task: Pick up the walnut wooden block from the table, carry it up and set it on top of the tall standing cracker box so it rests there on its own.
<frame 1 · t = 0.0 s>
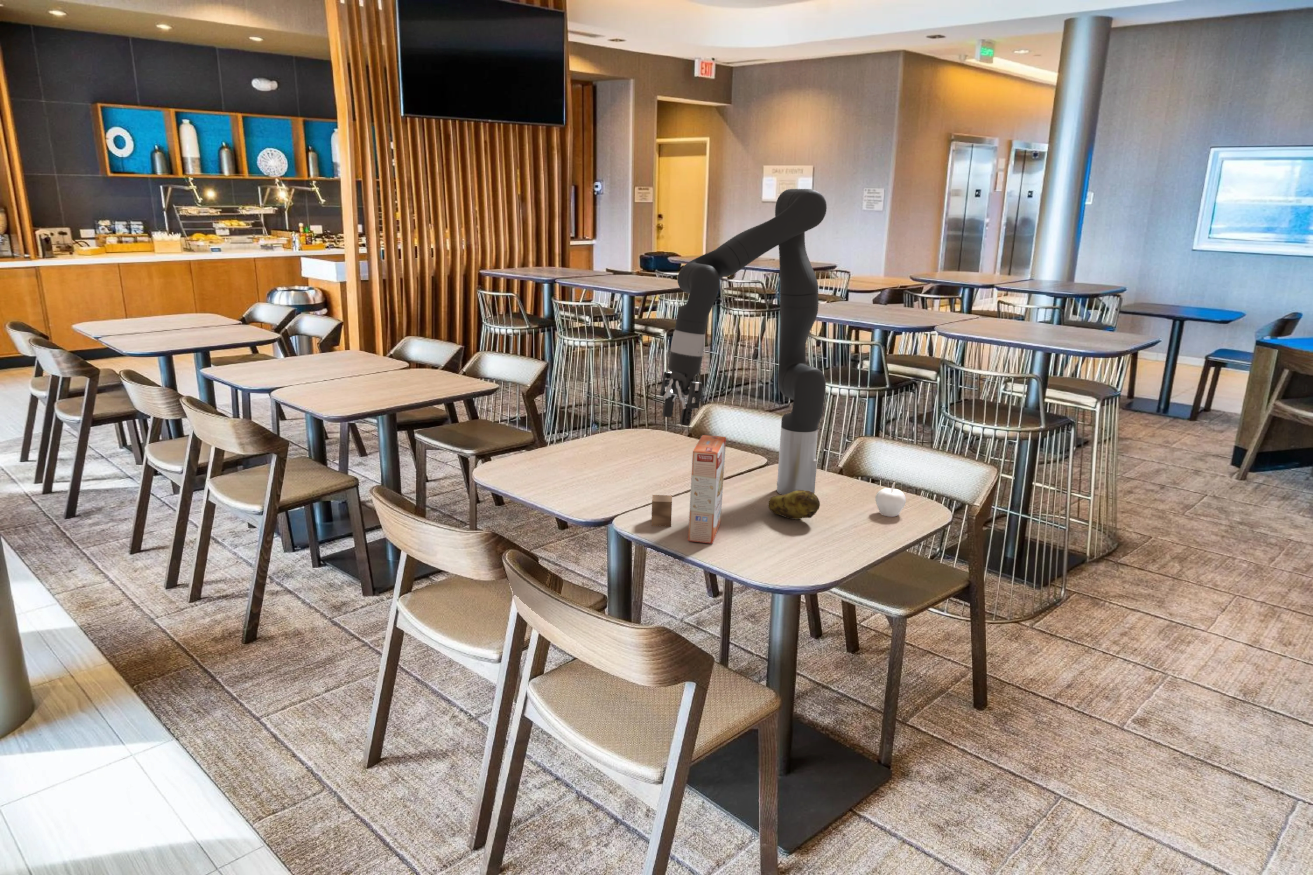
hand: (675, 420, 202), 22 cm above the table, tool pointing down, fingers open, 8 cm apart
plain white apple: (889, 515, 210), on the table
cracker box: (705, 533, 195), on the table
potato: (793, 520, 205), on the table
walnut block: (661, 522, 200), on the table
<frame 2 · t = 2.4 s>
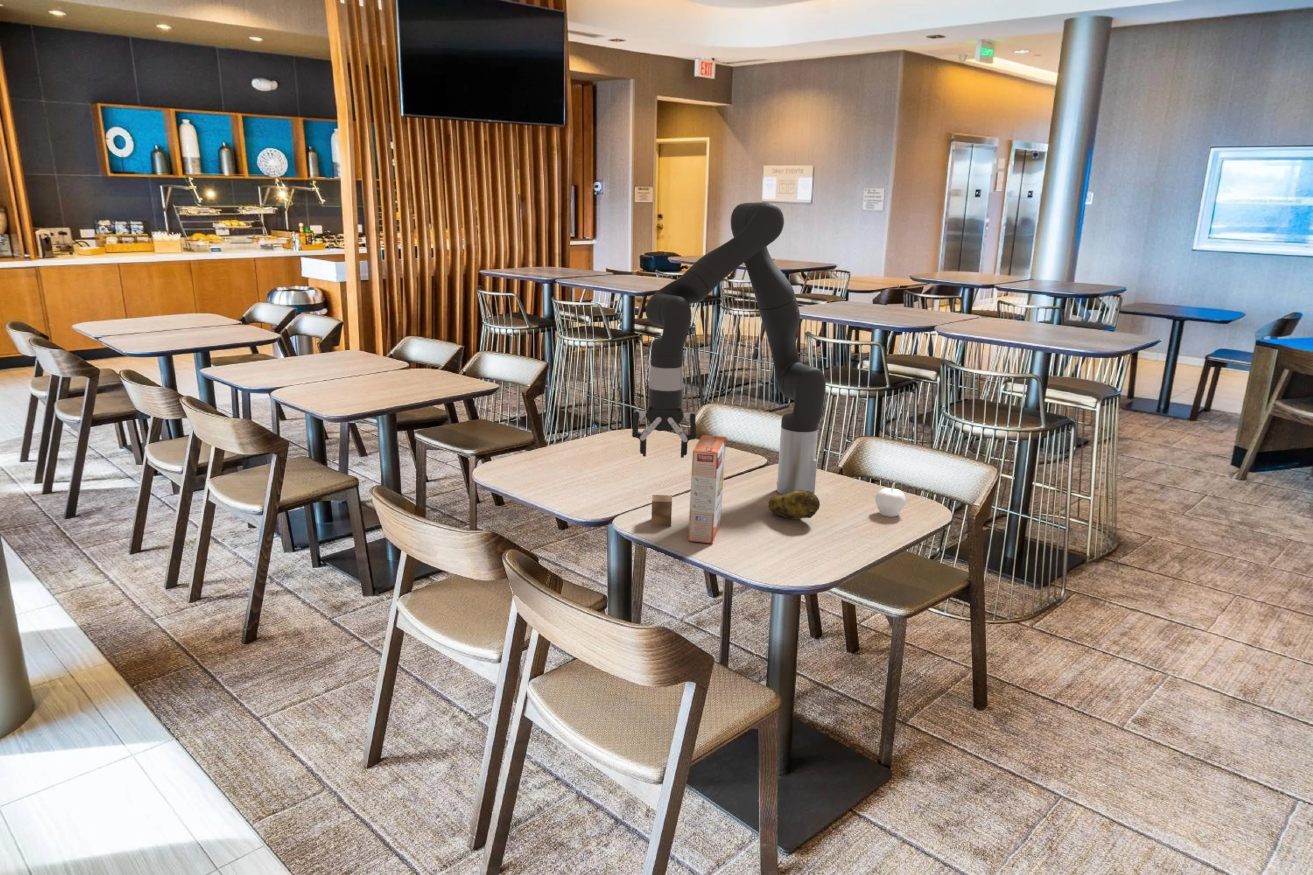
hand: (663, 456, 196), 16 cm above the table, tool pointing down, fingers open, 8 cm apart
nothing on the table moved.
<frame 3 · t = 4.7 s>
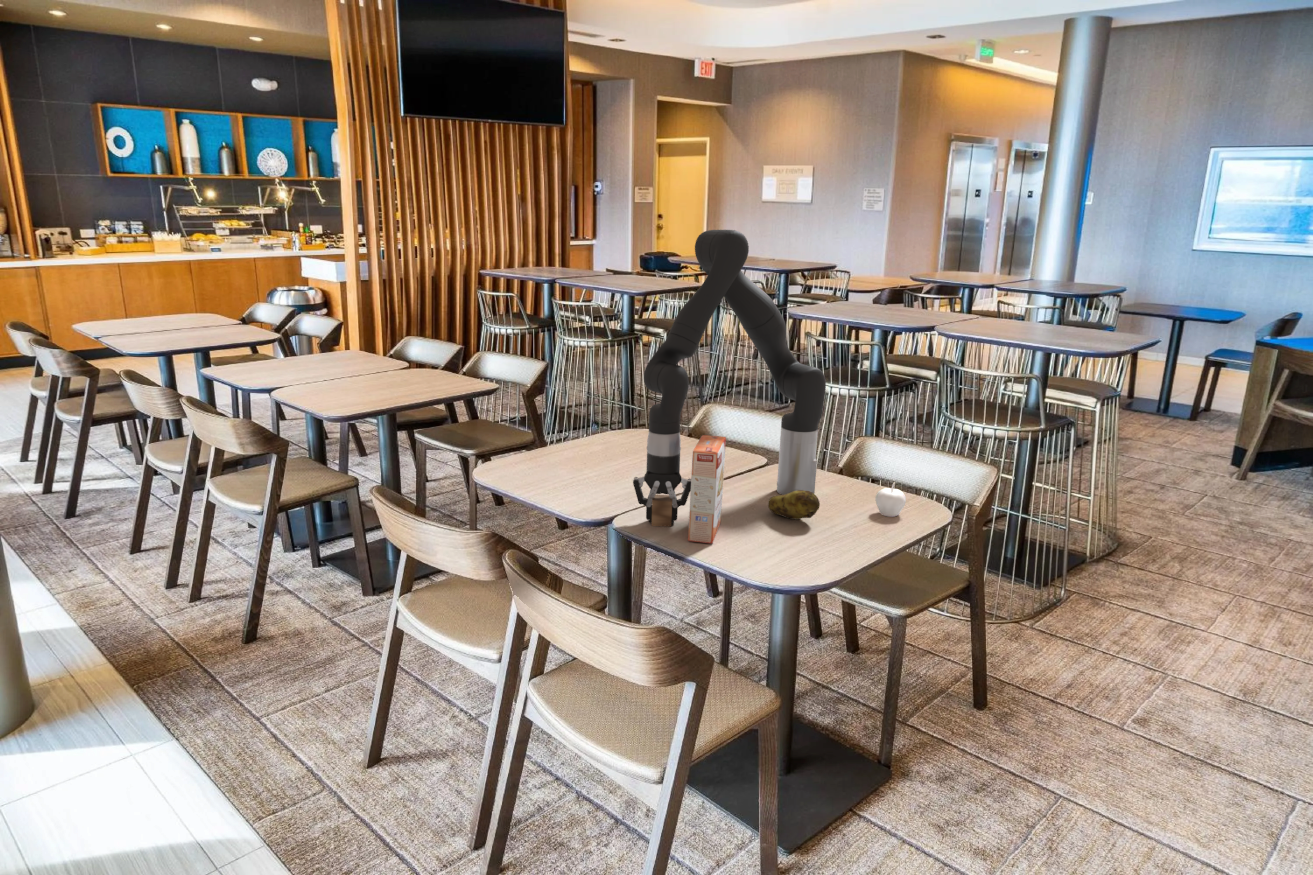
hand: (661, 521, 200), 0 cm above the table, tool pointing down, fingers closed on walnut block, 4 cm apart
walnut block: (661, 522, 200), on the table, touching gripper
everything else where it was.
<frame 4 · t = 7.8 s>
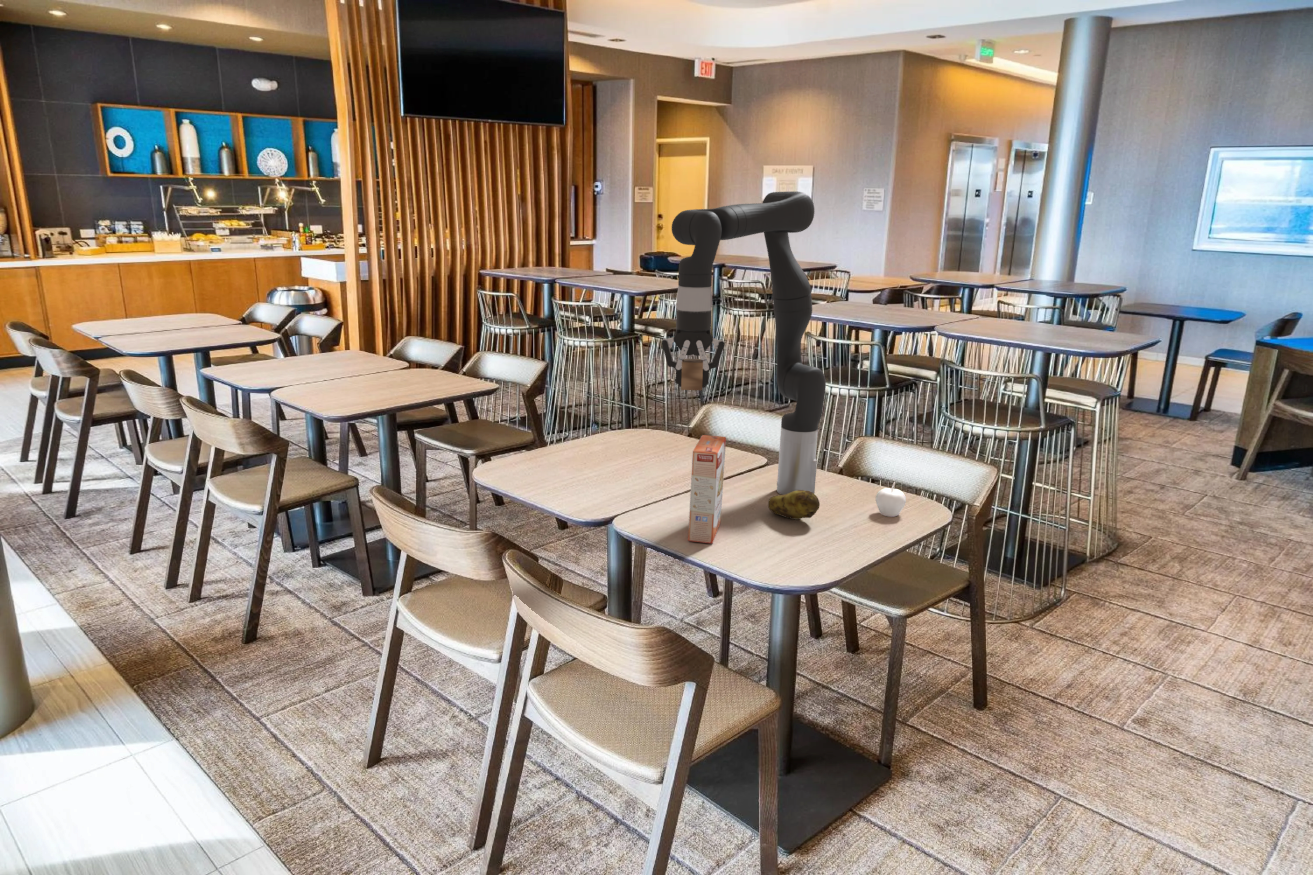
hand: (691, 386, 189), 33 cm above the table, tool pointing down, fingers closed on walnut block, 4 cm apart
walnut block: (691, 387, 189), point 32 cm above the table, touching gripper
everything else where it was.
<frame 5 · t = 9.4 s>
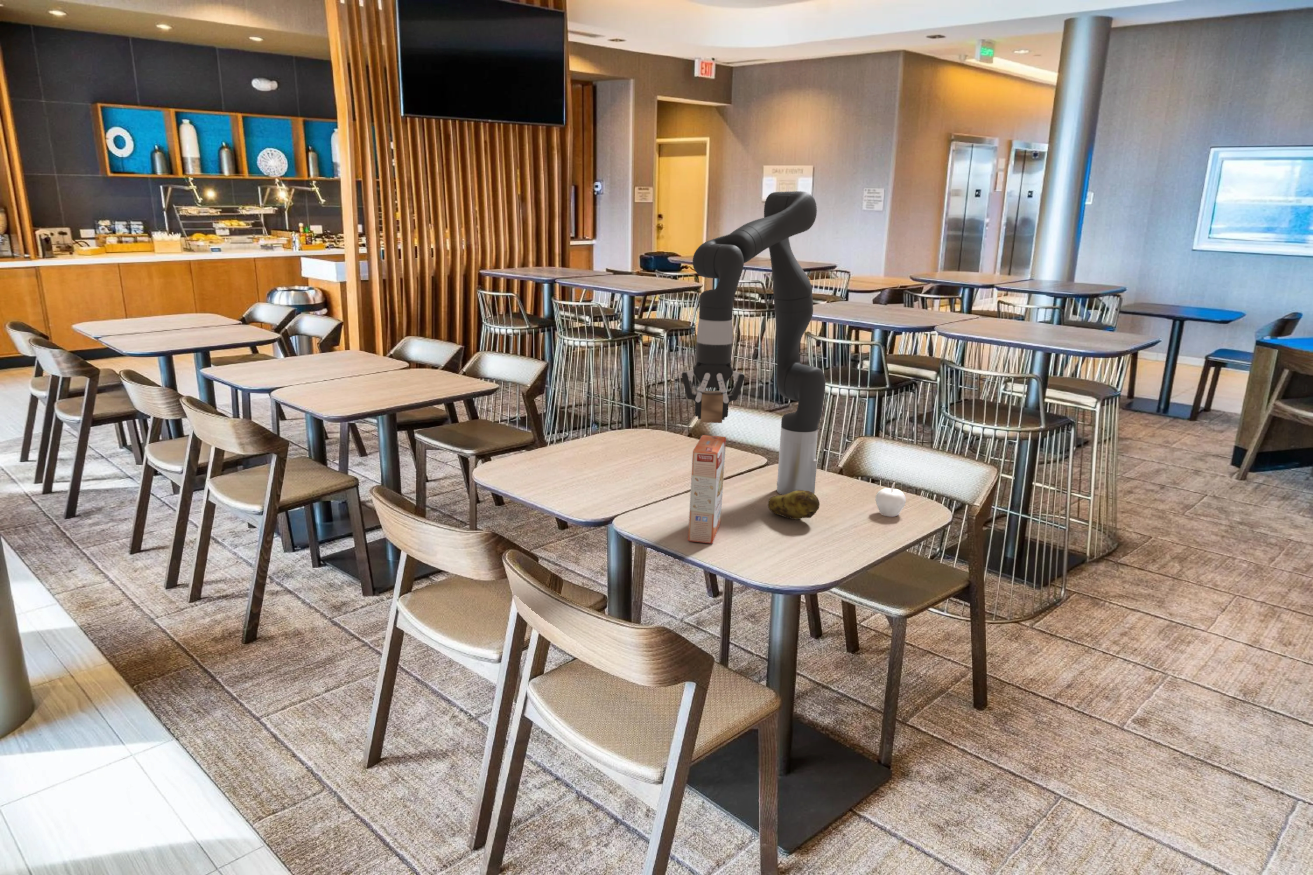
hand: (710, 418, 188), 26 cm above the table, tool pointing down, fingers closed on walnut block, 4 cm apart
walnut block: (710, 420, 188), point 26 cm above the table, touching gripper
everything else where it was.
when the fingers open (23 cm above the table, at t = 10.9 s): walnut block drops 1 cm, resting on cracker box.
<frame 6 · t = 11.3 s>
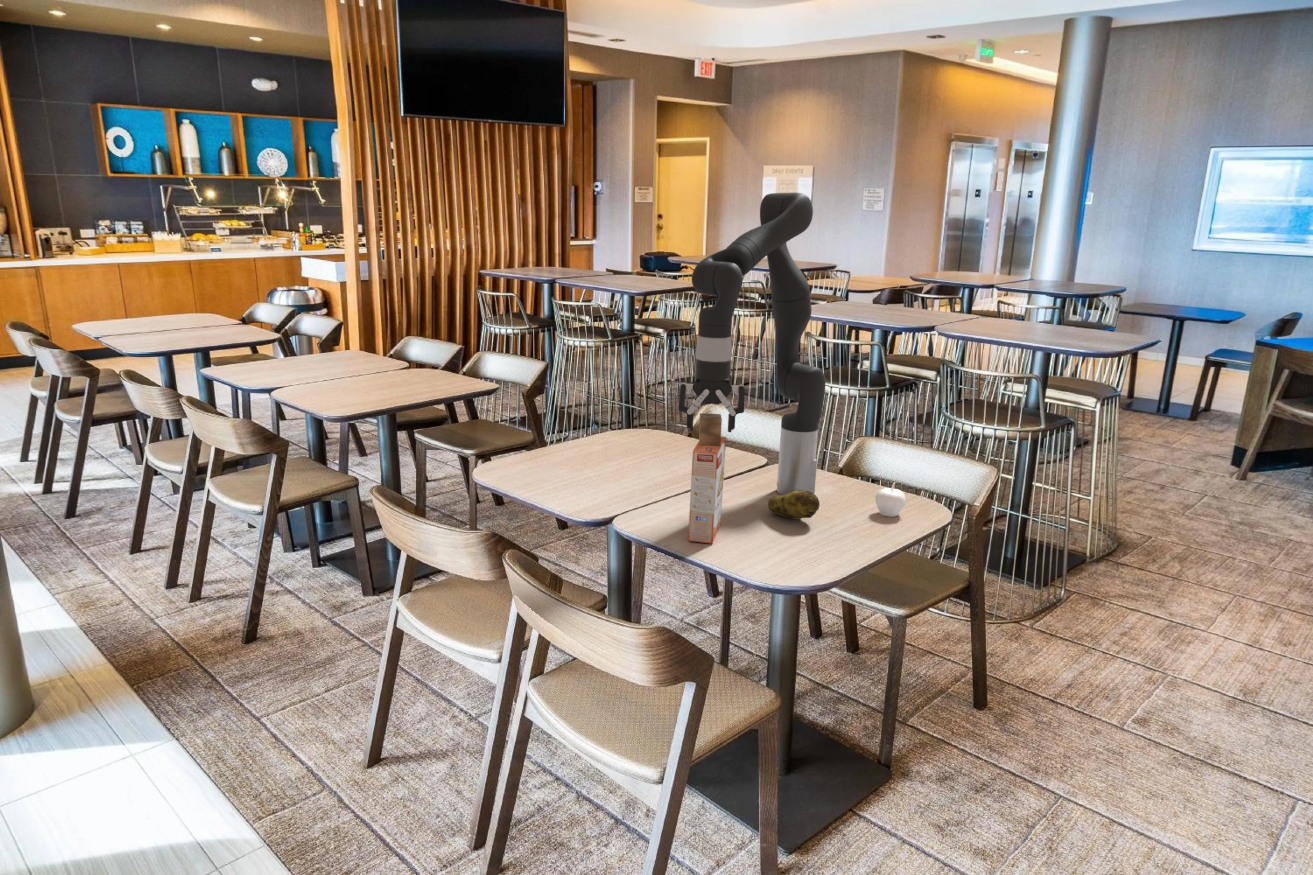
hand: (710, 430, 189), 24 cm above the table, tool pointing down, fingers open, 8 cm apart
cracker box: (705, 533, 195), on the table, touching walnut block
walnut block: (709, 442, 190), point 21 cm above the table, touching cracker box
everything else where it was.
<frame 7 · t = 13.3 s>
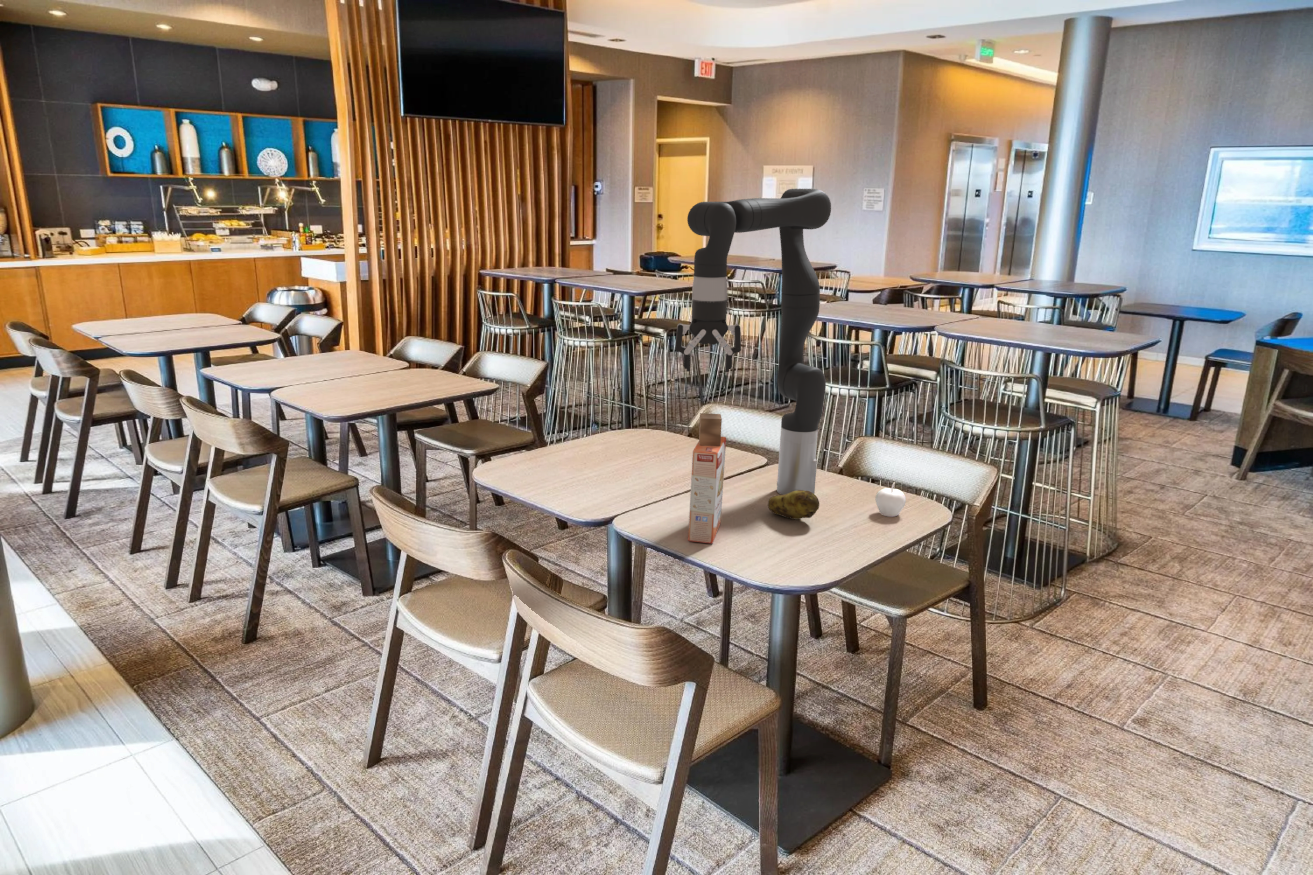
hand: (707, 371, 192), 35 cm above the table, tool pointing down, fingers open, 8 cm apart
nothing on the table moved.
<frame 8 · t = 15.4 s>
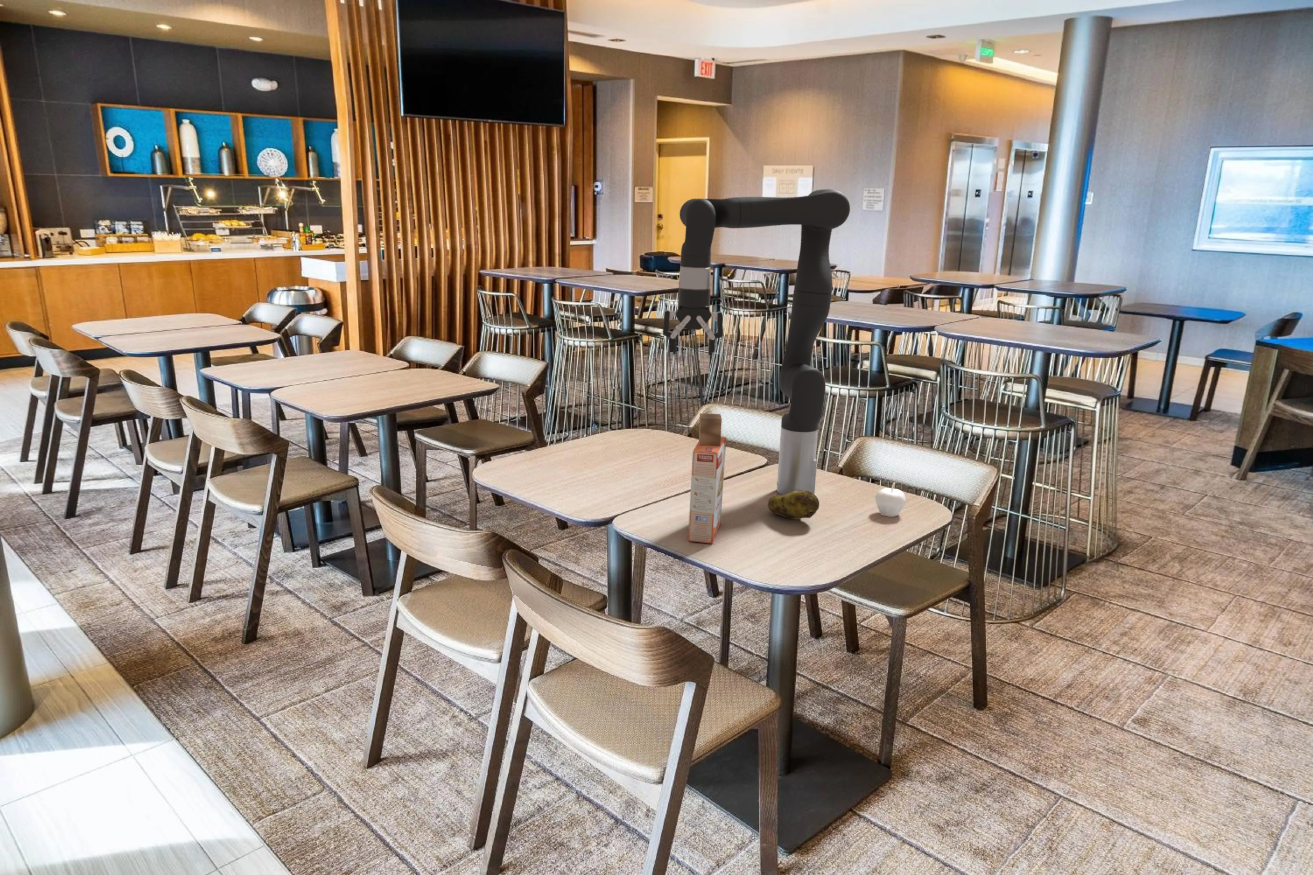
hand: (691, 354, 209), 36 cm above the table, tool pointing down, fingers open, 8 cm apart
nothing on the table moved.
at the end: walnut block inside the target area on the cracker box (0.1 cm from its centre), point 21.1 cm above the cracker box's base; walnut block touching cracker box; cracker box tilted 0° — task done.
